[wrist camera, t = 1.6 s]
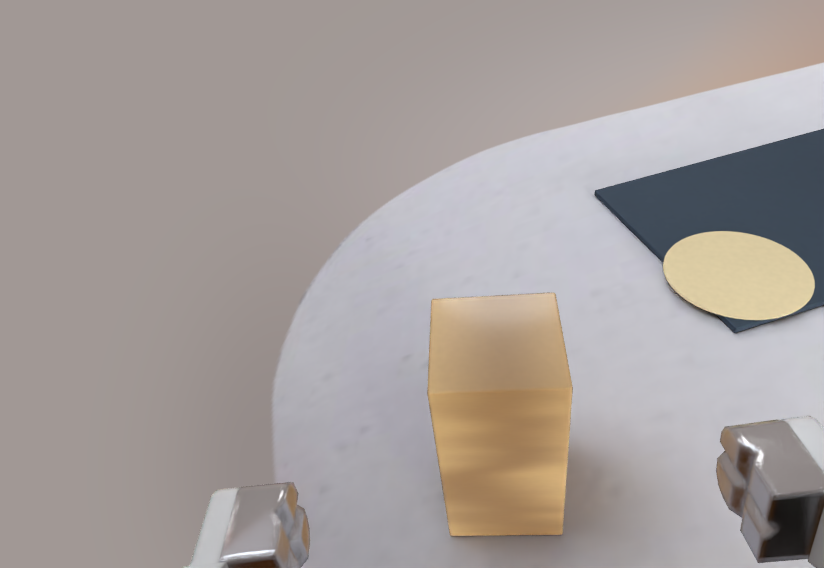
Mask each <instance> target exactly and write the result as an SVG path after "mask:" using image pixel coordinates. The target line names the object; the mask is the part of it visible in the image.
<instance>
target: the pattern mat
mask: <svg viewBox="0 0 824 568" xmlns="http://www.w3.org/2000/svg"><path fill="white" fill-rule="evenodd" d="M595 196H596V197H597V198H598V199H599V200H600V201H601V202H602V203H603V204H605V205H606V206H607V207H608V208H609V209H610V210H611V211H612V212H613V213H614V214H615V215H616V216H617V217H618V218H619V219H620V220H621V221H622V222H623V223H624V224H625V225H626V226H627V227H628V228H629V229H630V230H631V231H632V232H633V233H634V234H635V235H636V236H637V237H638V238H639V239H640V240H641V241H642V242H643V243H644V244H645V245H646V246H647V247H648V248H649V249H650V250H651V251H652V252H653V253H654V254H655V255H656V256H657V257H658V258H659V259H660V260H661V261H662V262H663V271H664V275H665V277H666V280H667V281H668V283H669V285H670V286H671V287H672V288H673V289H674V291H675V292H677V293H678V294H679V295H680V296H681V297H682V298H684V299H685V300H687V301H688V302H690V303H692V304H693V305H695V306H697V307H699V308H701V309H703V310H706V311H709V312H711V313H714V314H716V315H717V316H718V317H719V318H720V319H721V320H722V321H723V322H724V323H725V324H726V325H727V326H728V327H729V328H730V329H731V330H732V331H733V332H734V333H736V332H739V331H743V330H746V329H749V328H752V327H755V326H758V325H762V324H765V323H768V322H771V321H774V320H777V319H781V318H784V317H787V316H790V315H793V314H797V313H800V312H803V311H806V310H809V309H812V308H816V307H819V306H822V305H824V129H821V130H818V131H814V132H810V133H806V134H803V135H799V136H795V137H792V138H788V139H784V140H781V141H777V142H773V143H769V144H766V145H762V146H758V147H755V148H751V149H747V150H743V151H740V152H736V153H732V154H729V155H725V156H721V157H718V158H714V159H710V160H706V161H703V162H699V163H695V164H692V165H688V166H684V167H680V168H677V169H673V170H669V171H666V172H662V173H658V174H655V175H651V176H647V177H643V178H640V179H636V180H632V181H629V182H625V183H621V184H617V185H614V186H610V187H606V188H603V189H599V190H595Z"/></svg>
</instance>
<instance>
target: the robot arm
mask: <svg viewBox="0 0 824 568" xmlns="http://www.w3.org/2000/svg"><path fill="white" fill-rule="evenodd" d="M720 442H721V444H722V446H723V448H724V449H725V451H724V452H723V453H722V454H721V455H720V456H719V457H718V458H717V468H716V473H717V479H718V485H719V488H720V491H721V494H722V496H723V499H724V500H725V502H726V504H727V506H728V508H729V509H730V510H731V511H733V512H734V513H736V514H737V515H739V516H740V517H742V523H741V529H740V531H741V533H742V534H743V536H744V538H745V540H746V542H747V544H748V545H749V547H750V549H751V551H752V553H753V555H754V556H755V558H756V560H757V562H758V563H764V562H775V561H787V560H799V559H808V562H809V563H811V564H812V565H813V566H814V567H816V568H824V428H823V427H822V426H821V425H820V423H819V422H818V421H817V420H816V419H815V418H813V417H811V416H804V417H796V418H789V419H781V420H771V421H764V422H756V423H749V424H742V425H735V426H727V427H725V428H724V429H723V430H722V432H721V438H720ZM297 500H298V492H297V489H296V487H295V485H294V483H293V482H287V483H276V484H266V485H257V486H246V487H239V488H230V489H221V490H216V491H215V492H214V493H213V495H212V496H211V498H210V502H209V504H208V507H207V511H206V514H205V517H204V520H203V524H202V527H201V530H200V534H199V537H198V540H197V543H196V546H195V550H194V553H193V556H192V559H191V563H190V566H186V567H182V568H301V567H302V566H303V564H304V563H305V562H306V561H307V559H308V557H309V548H310V530H309V524H308V518H307V515H306V512H305V510H304V508H302V507H300V506H299V505H297Z"/></svg>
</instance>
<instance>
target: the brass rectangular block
mask: <svg viewBox="0 0 824 568" xmlns="http://www.w3.org/2000/svg"><path fill="white" fill-rule="evenodd" d="M572 390H573V387H572V382H571V376H570V371H569V365H568V360H567V354H566V349H565V343H564V338H563V332H562V327H561V321H560V316H559V310H558V305H557V299H556V294H555V293H536V294H518V295H499V296H480V297H462V298H443V299H432V301H431V321H430V344H429V367H428V390H427V394H428V400H429V407H430V413H431V419H432V426H433V432H434V438H435V444H436V451H437V457H438V463H439V469H440V476H441V482H442V488H443V495H444V501H445V507H446V513H447V520H448V526H449V532H450V535H451V536H490V535H562V533H563V520H564V505H565V491H566V477H567V462H568V448H569V433H570V419H571V404H572Z"/></svg>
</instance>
